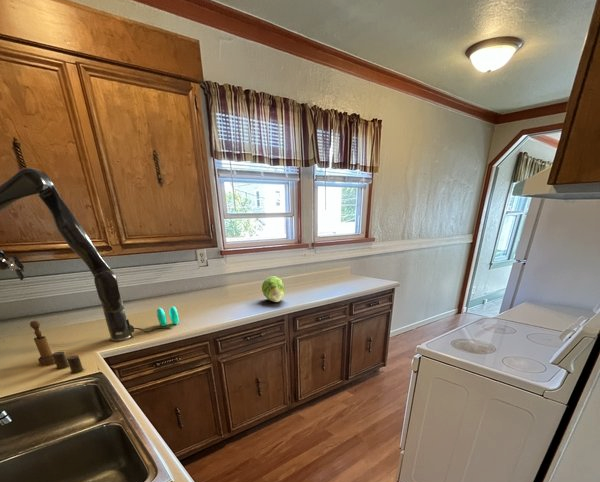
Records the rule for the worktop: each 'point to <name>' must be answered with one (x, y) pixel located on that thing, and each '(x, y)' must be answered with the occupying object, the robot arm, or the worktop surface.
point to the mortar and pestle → (42, 346)
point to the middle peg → (60, 360)
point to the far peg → (75, 364)
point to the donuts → (162, 316)
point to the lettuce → (273, 289)
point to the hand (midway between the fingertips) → (9, 280)
